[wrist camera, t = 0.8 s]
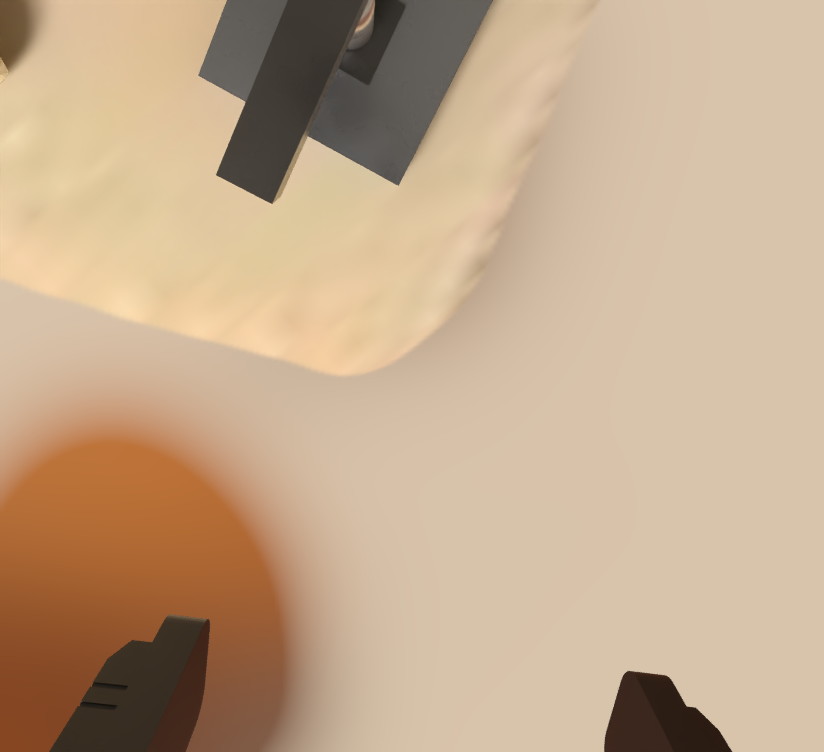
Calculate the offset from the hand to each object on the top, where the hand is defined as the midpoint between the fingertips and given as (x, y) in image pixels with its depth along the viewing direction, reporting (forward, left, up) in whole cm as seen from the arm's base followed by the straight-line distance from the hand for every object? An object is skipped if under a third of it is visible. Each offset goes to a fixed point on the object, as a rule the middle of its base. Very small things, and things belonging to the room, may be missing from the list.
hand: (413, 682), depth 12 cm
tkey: (-8, +11, -22) cm, 26 cm away
